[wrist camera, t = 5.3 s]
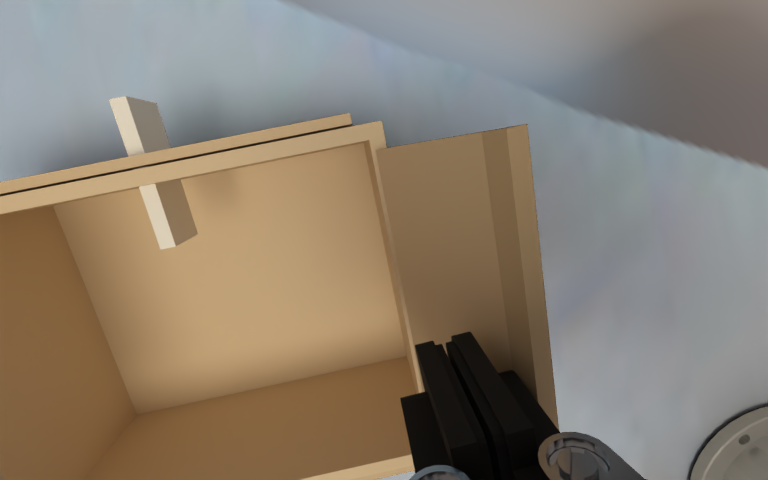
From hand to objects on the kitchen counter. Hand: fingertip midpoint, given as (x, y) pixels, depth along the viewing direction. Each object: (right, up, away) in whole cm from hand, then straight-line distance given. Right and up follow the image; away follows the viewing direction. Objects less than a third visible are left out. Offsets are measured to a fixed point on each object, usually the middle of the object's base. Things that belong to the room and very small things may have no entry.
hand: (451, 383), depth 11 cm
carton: (-11, +2, +13) cm, 17 cm away
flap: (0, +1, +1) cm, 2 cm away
